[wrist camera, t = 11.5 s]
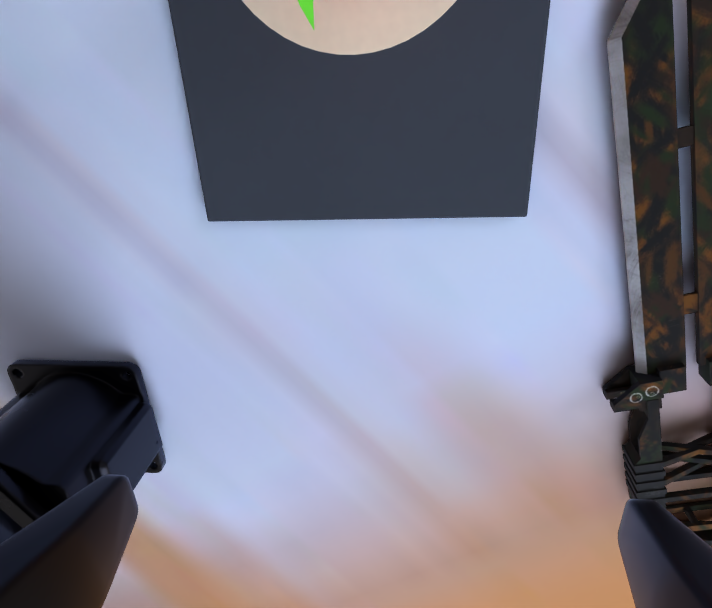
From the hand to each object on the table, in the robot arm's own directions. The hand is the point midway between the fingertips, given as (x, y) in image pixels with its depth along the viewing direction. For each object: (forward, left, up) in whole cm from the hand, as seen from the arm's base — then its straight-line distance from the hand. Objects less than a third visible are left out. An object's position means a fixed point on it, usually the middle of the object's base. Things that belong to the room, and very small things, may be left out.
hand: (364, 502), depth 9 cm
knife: (+11, -2, -12) cm, 17 cm away
